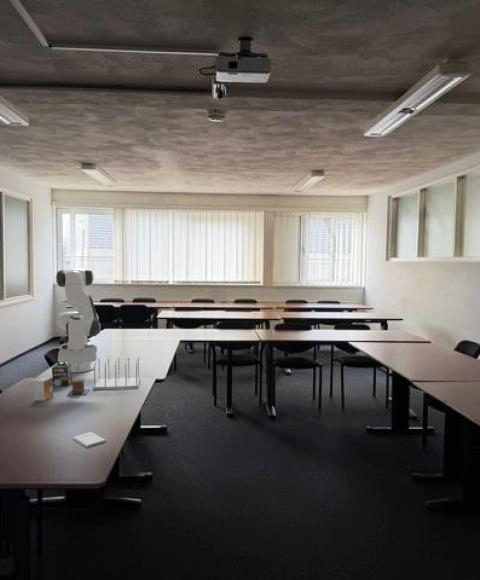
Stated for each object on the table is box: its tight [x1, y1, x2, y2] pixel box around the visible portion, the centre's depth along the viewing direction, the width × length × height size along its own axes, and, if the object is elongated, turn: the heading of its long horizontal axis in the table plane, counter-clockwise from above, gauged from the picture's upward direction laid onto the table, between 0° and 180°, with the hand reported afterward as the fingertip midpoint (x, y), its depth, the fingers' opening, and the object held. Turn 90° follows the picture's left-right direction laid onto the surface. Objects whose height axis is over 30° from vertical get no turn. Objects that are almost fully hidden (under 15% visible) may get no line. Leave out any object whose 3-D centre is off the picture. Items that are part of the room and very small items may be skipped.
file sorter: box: [92, 356, 141, 391], centre depth 275 cm, size 25×17×16 cm
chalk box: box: [51, 359, 73, 388], centre depth 276 cm, size 9×9×15 cm
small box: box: [34, 376, 54, 402], centre depth 249 cm, size 8×6×10 cm
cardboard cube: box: [71, 378, 85, 393], centre depth 259 cm, size 5×5×7 cm
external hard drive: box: [72, 431, 107, 448], centre depth 193 cm, size 2×8×12 cm
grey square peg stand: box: [66, 388, 91, 397], centre depth 259 cm, size 10×10×7 cm
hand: (77, 369), depth 259 cm, fingers closed
